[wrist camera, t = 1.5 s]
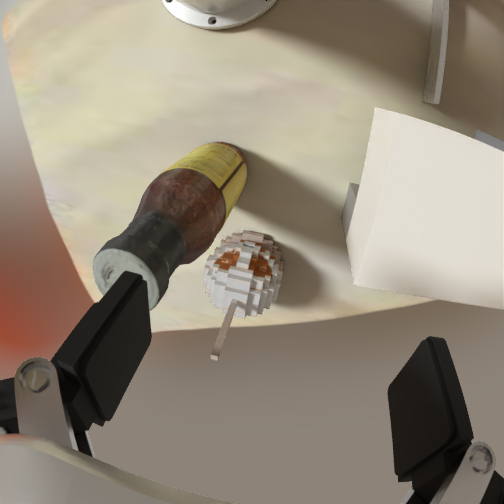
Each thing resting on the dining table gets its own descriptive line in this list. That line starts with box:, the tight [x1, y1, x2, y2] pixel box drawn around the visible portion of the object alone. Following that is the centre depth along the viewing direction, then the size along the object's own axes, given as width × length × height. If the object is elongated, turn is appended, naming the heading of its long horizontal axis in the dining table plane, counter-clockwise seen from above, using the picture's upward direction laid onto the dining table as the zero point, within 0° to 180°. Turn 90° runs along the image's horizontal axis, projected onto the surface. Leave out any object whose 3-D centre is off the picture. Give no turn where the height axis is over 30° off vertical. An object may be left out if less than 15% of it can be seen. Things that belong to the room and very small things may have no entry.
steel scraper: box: [422, 0, 449, 105], centre depth 16 cm, size 18×2×8 cm, turn 174°
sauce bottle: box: [93, 142, 247, 311], centre depth 23 cm, size 7×6×20 cm
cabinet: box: [342, 107, 504, 310], centre depth 22 cm, size 13×23×12 cm, turn 84°
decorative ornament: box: [203, 230, 284, 361], centre depth 30 cm, size 8×8×15 cm
